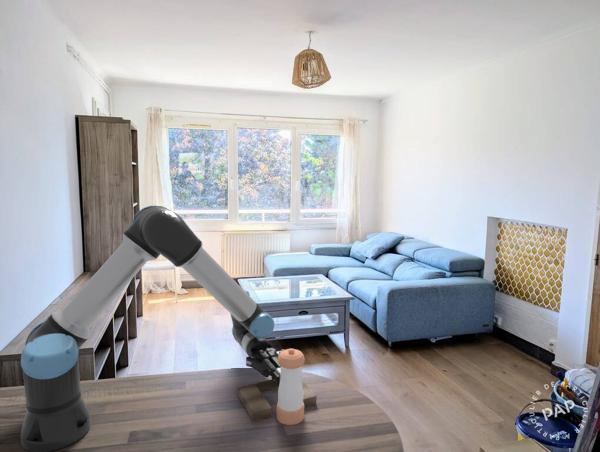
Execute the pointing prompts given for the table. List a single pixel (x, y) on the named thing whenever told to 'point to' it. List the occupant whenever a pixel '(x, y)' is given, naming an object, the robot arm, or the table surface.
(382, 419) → the table surface
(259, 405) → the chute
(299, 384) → the salt shaker
